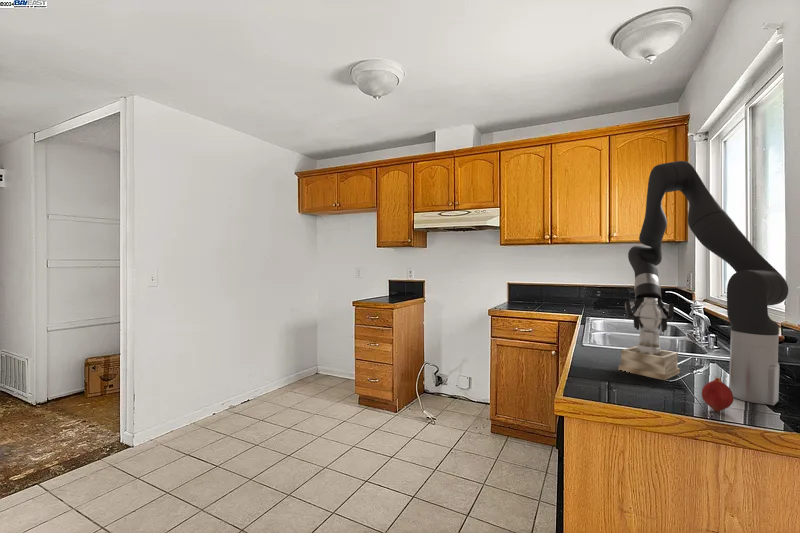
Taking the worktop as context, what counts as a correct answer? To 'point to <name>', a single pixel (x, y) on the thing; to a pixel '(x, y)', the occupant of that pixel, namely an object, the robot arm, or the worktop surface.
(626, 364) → the wooden tray
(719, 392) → the onion
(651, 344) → the silver bottle
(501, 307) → the worktop surface
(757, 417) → the worktop surface
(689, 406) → the worktop surface
